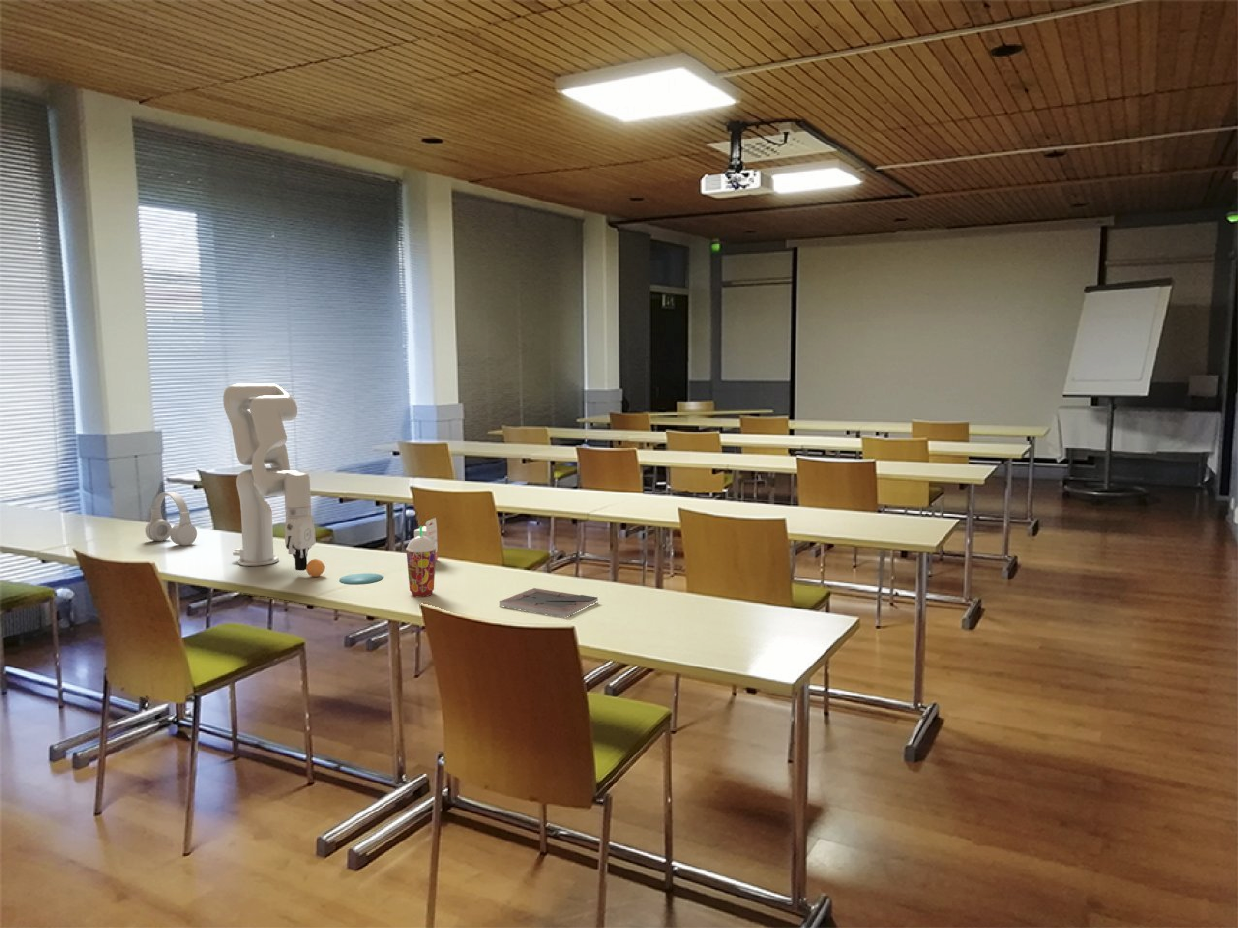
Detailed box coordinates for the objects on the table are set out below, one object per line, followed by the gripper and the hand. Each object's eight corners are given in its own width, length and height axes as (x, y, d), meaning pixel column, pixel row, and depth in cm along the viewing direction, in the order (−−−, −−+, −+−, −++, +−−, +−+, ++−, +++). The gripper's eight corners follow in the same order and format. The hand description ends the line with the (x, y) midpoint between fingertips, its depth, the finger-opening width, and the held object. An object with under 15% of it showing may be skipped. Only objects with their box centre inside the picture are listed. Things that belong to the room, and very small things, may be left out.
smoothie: (405, 592, 247) (403, 524, 245) (433, 589, 250) (432, 522, 248) (409, 599, 239) (408, 529, 237) (439, 596, 243) (438, 527, 240)
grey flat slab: (597, 605, 236) (534, 595, 247) (597, 597, 236) (533, 587, 247) (565, 620, 222) (499, 609, 232) (565, 611, 222) (499, 600, 232)
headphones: (144, 542, 317) (141, 491, 315) (166, 538, 324) (163, 488, 322) (177, 548, 307) (174, 495, 305) (198, 544, 315) (196, 492, 312)
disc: (331, 582, 257) (331, 582, 257) (352, 573, 270) (352, 572, 270) (370, 585, 255) (370, 584, 255) (390, 575, 267) (390, 574, 267)
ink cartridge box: (424, 559, 291) (423, 517, 289) (438, 559, 290) (437, 517, 288) (413, 564, 282) (412, 521, 281) (427, 565, 281) (426, 521, 280)
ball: (307, 557, 262) (321, 568, 261) (317, 554, 267) (331, 564, 267) (299, 571, 263) (313, 582, 263) (309, 567, 268) (322, 577, 268)
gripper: (295, 516, 256) (298, 575, 258) (322, 508, 270) (325, 565, 272) (273, 515, 257) (276, 574, 259) (301, 508, 272) (304, 564, 274)
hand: (301, 569), depth 266 cm, fingers closed
